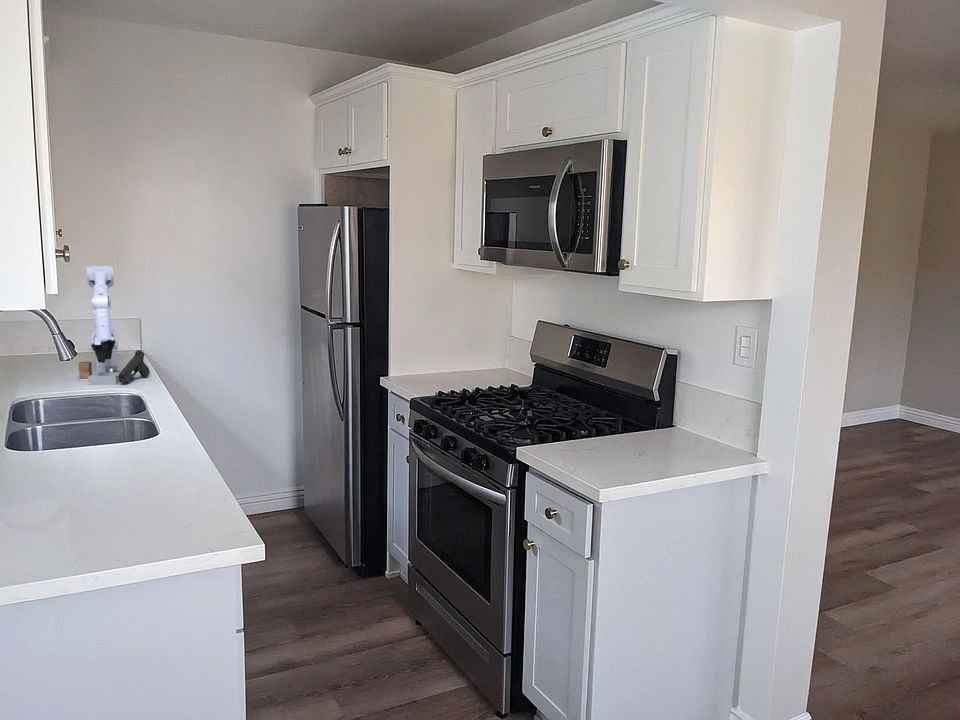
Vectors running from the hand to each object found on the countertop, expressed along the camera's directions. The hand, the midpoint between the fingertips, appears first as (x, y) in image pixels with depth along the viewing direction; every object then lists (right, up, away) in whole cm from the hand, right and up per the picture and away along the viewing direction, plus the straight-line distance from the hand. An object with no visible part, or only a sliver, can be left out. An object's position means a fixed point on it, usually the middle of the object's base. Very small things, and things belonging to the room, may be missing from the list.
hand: (104, 360), depth 293 cm
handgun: (+10, -8, +4) cm, 14 cm away
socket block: (0, -8, +1) cm, 8 cm away
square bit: (-10, -8, +5) cm, 13 cm away
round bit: (-1, -7, +8) cm, 11 cm away
